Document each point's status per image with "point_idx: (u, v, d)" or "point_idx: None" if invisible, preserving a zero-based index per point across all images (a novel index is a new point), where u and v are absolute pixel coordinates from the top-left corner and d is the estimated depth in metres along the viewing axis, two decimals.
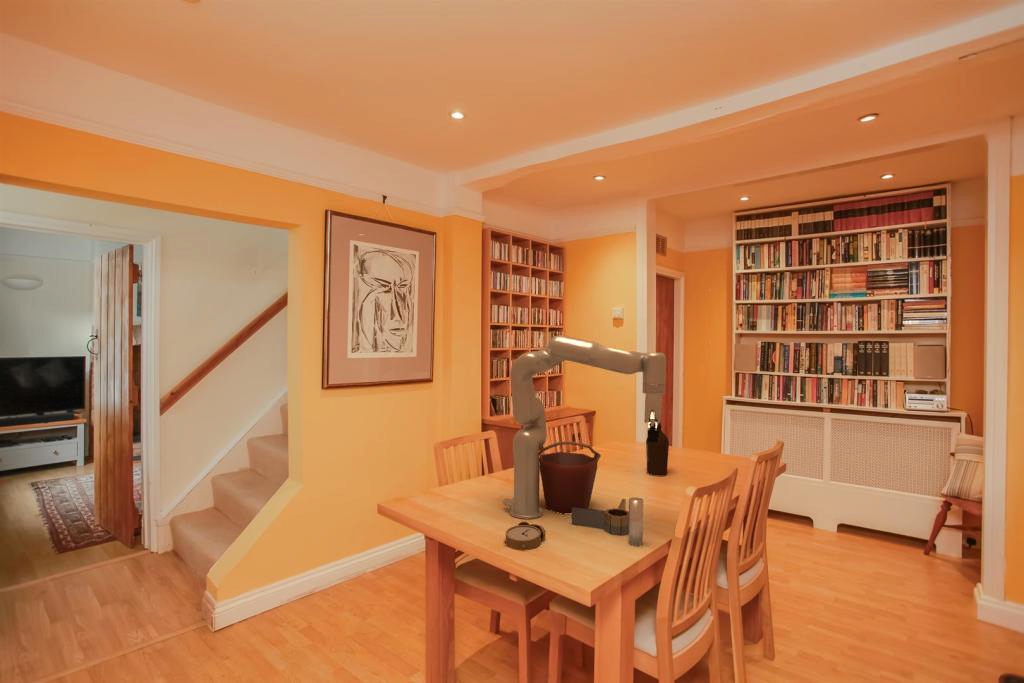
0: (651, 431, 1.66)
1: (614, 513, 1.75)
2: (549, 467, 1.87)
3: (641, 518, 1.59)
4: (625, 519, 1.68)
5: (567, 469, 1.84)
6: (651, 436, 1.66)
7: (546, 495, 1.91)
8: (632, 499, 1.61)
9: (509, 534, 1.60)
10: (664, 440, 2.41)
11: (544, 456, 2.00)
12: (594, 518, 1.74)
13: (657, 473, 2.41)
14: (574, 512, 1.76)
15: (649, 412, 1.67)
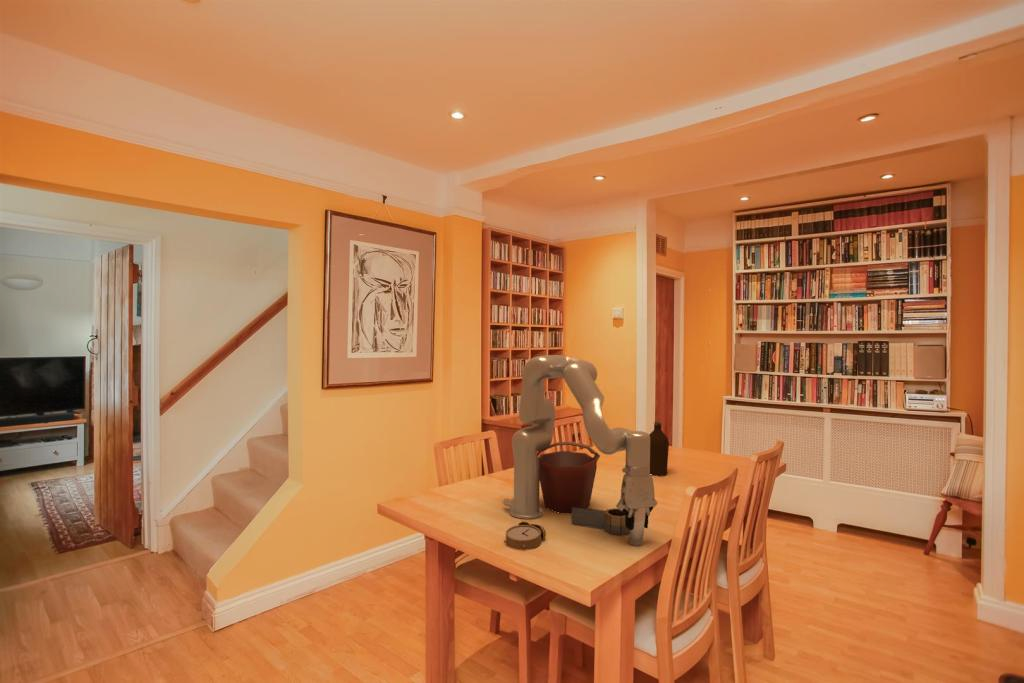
0: None
1: (614, 513, 1.75)
2: (546, 468, 1.88)
3: (643, 518, 1.59)
4: None
5: (562, 471, 1.84)
6: None
7: (544, 495, 1.92)
8: None
9: (509, 534, 1.60)
10: (664, 440, 2.41)
11: (545, 456, 2.01)
12: (594, 518, 1.74)
13: (657, 473, 2.41)
14: (574, 512, 1.76)
15: None
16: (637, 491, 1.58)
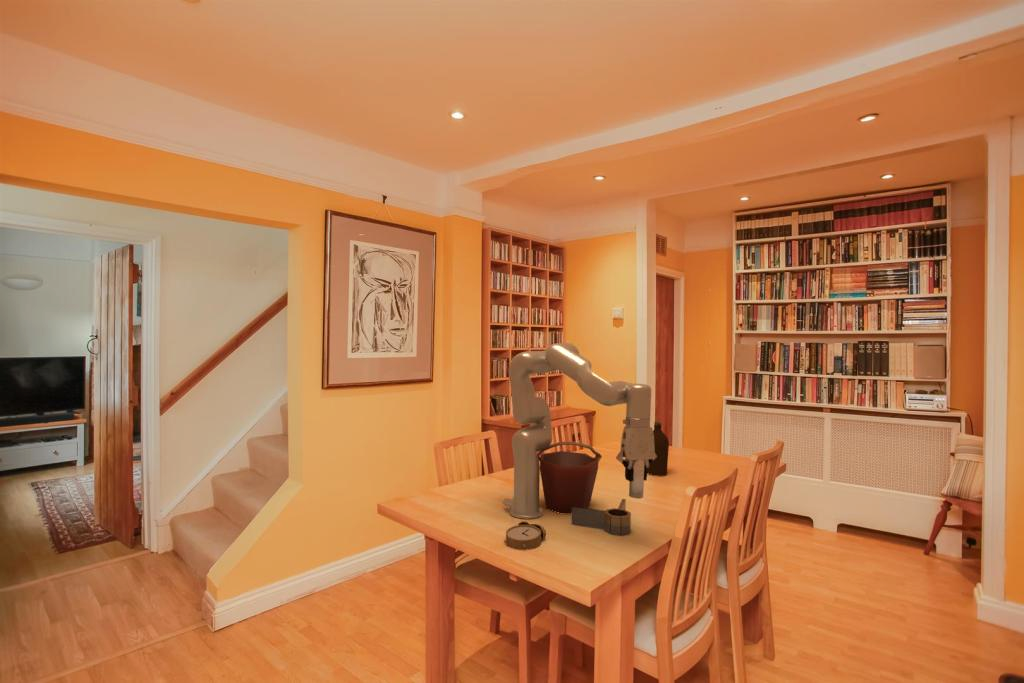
0: None
1: (614, 513, 1.75)
2: (549, 467, 1.87)
3: (642, 470, 1.59)
4: (625, 519, 1.68)
5: (566, 470, 1.84)
6: None
7: (546, 495, 1.91)
8: None
9: (509, 534, 1.60)
10: (664, 440, 2.41)
11: (545, 455, 2.00)
12: (594, 518, 1.74)
13: (657, 473, 2.41)
14: (574, 512, 1.76)
15: None
16: (637, 442, 1.58)
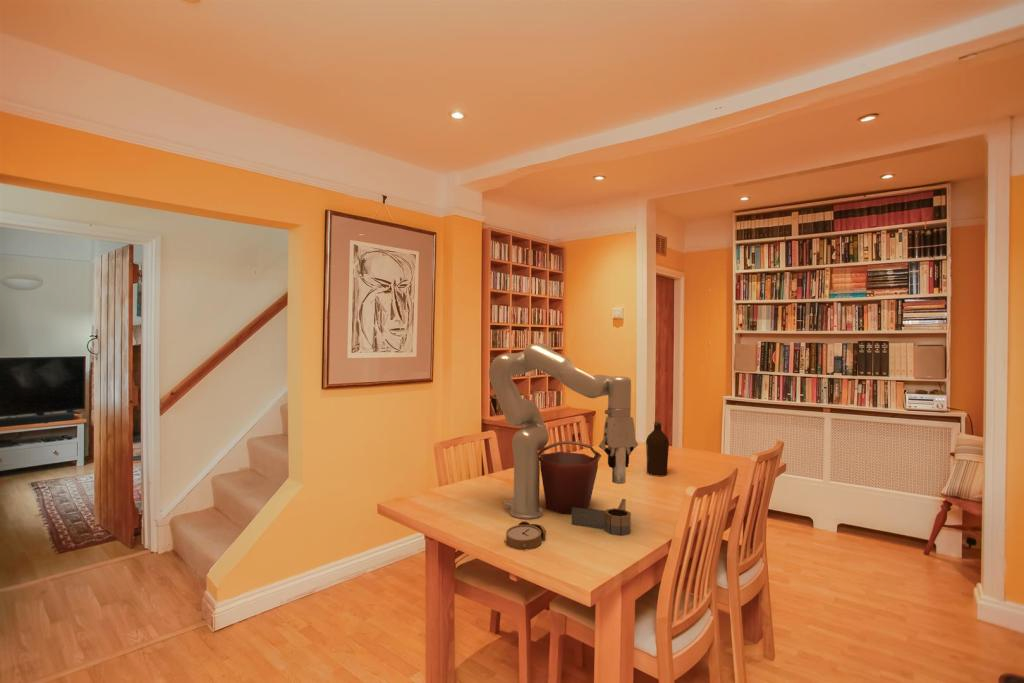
0: None
1: (614, 513, 1.75)
2: (550, 466, 1.87)
3: (624, 457, 1.69)
4: (625, 519, 1.68)
5: (568, 469, 1.84)
6: None
7: (547, 495, 1.90)
8: None
9: (510, 534, 1.60)
10: (664, 440, 2.41)
11: (544, 456, 2.00)
12: (594, 518, 1.74)
13: (657, 473, 2.41)
14: (574, 512, 1.76)
15: None
16: (618, 431, 1.68)
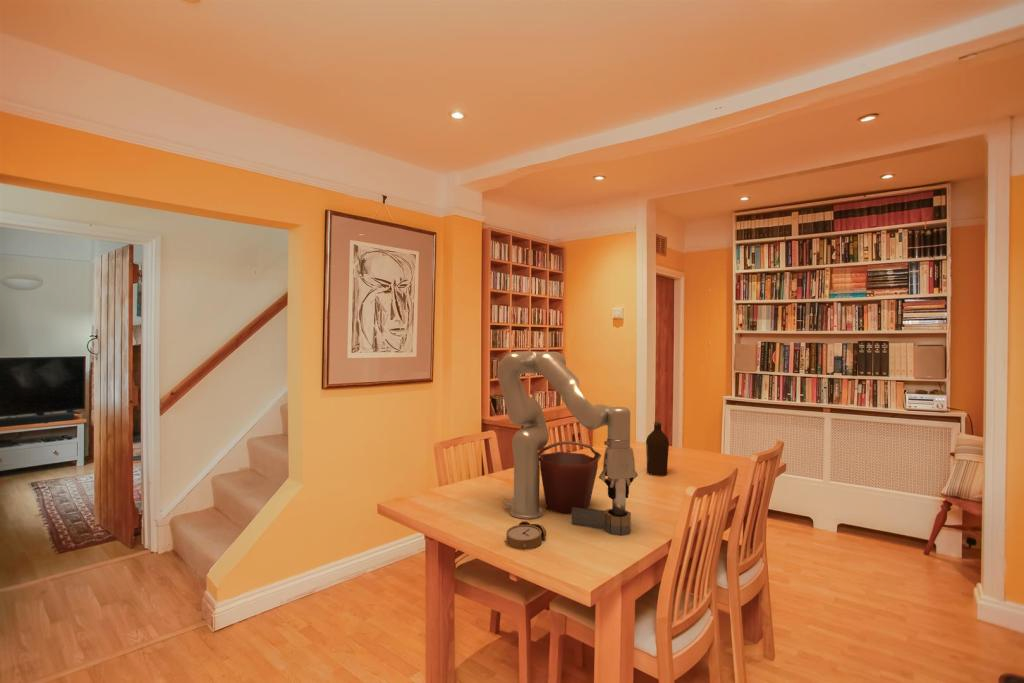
0: None
1: None
2: (550, 467, 1.87)
3: (624, 488, 1.69)
4: (625, 519, 1.68)
5: (568, 469, 1.84)
6: None
7: (546, 495, 1.90)
8: None
9: (510, 534, 1.60)
10: (664, 440, 2.41)
11: (544, 456, 2.00)
12: (594, 518, 1.74)
13: (657, 473, 2.41)
14: (574, 512, 1.76)
15: None
16: (618, 462, 1.68)
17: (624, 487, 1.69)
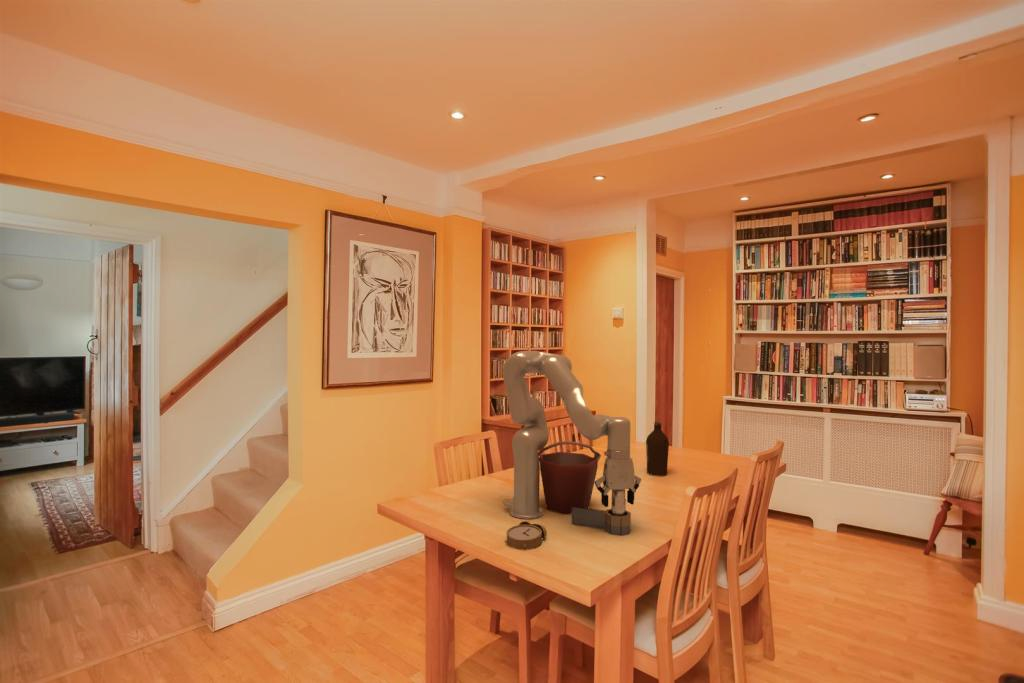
0: None
1: None
2: (550, 467, 1.87)
3: (623, 507, 1.69)
4: (625, 519, 1.68)
5: (567, 469, 1.84)
6: None
7: (546, 495, 1.90)
8: None
9: (510, 534, 1.61)
10: (664, 440, 2.41)
11: (544, 456, 2.00)
12: (594, 518, 1.74)
13: (657, 473, 2.41)
14: (574, 512, 1.76)
15: None
16: (618, 473, 1.68)
17: (623, 505, 1.70)
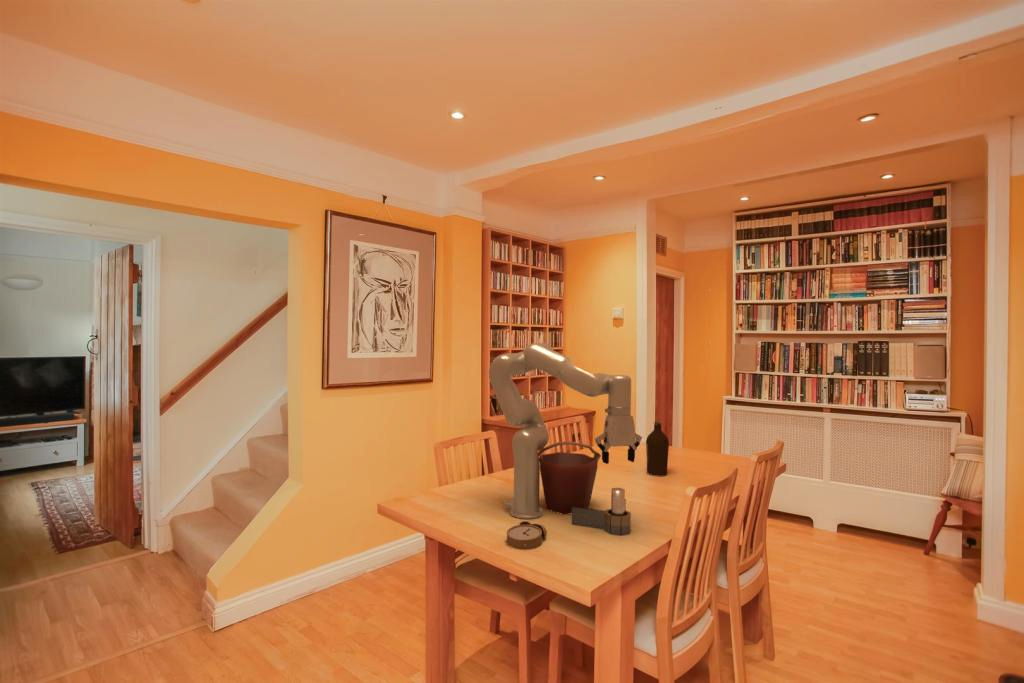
0: None
1: None
2: (549, 467, 1.87)
3: (622, 507, 1.69)
4: (625, 519, 1.68)
5: (567, 469, 1.84)
6: None
7: (546, 495, 1.90)
8: (614, 489, 1.71)
9: (510, 533, 1.61)
10: (664, 440, 2.41)
11: (544, 456, 2.00)
12: (594, 518, 1.74)
13: (657, 473, 2.41)
14: (574, 512, 1.76)
15: None
16: (618, 430, 1.68)
17: (623, 505, 1.70)
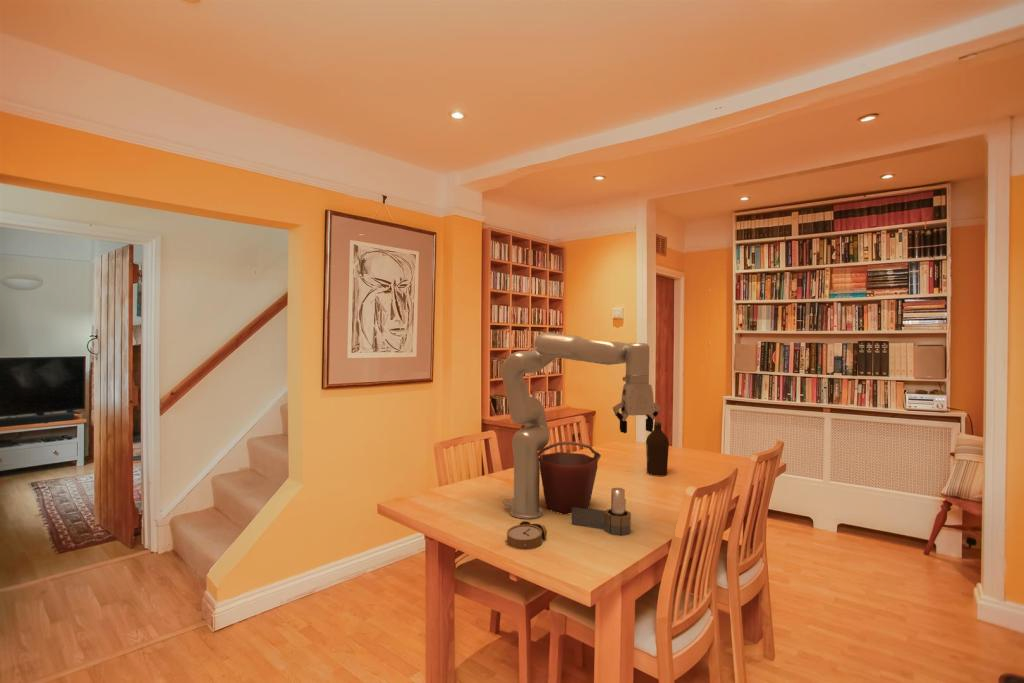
0: None
1: None
2: (549, 467, 1.87)
3: (622, 507, 1.69)
4: (625, 519, 1.68)
5: (567, 469, 1.84)
6: None
7: (546, 495, 1.90)
8: (614, 489, 1.71)
9: (510, 533, 1.61)
10: (664, 440, 2.41)
11: (544, 456, 2.00)
12: (594, 518, 1.74)
13: (657, 473, 2.41)
14: (574, 512, 1.76)
15: None
16: (637, 398, 1.64)
17: (623, 505, 1.70)
